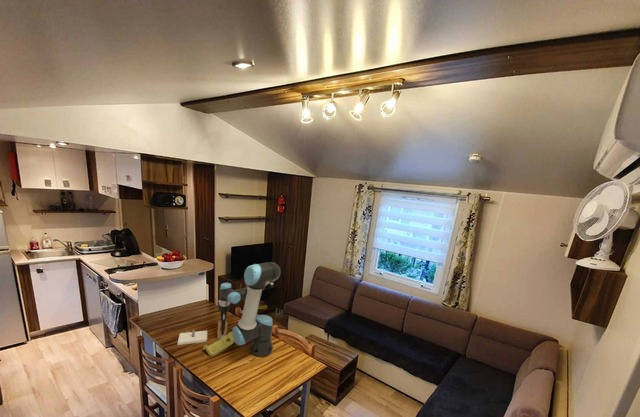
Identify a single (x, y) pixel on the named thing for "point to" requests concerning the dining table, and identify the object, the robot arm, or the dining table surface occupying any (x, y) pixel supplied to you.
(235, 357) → the dining table surface
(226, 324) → the jaw
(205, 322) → the dining table surface
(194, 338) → the white board with peg
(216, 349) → the plastic component
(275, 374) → the dining table surface
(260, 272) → the robot arm
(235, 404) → the dining table surface
